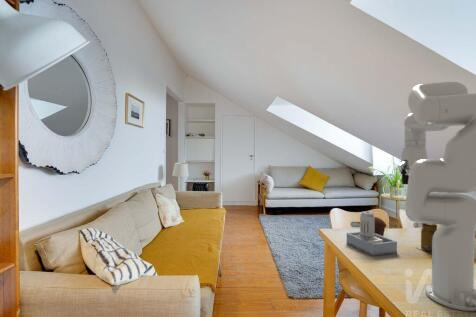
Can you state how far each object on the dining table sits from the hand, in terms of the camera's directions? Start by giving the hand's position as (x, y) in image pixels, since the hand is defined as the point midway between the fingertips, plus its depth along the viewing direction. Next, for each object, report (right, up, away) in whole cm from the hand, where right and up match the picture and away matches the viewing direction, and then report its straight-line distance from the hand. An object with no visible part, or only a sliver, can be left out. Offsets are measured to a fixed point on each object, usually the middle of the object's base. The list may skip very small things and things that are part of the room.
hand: (414, 183), depth 109 cm
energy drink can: (-16, -30, +9) cm, 35 cm away
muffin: (-5, -30, +23) cm, 38 cm away
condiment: (+10, -31, +3) cm, 32 cm away
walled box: (-16, -30, +6) cm, 35 cm away
